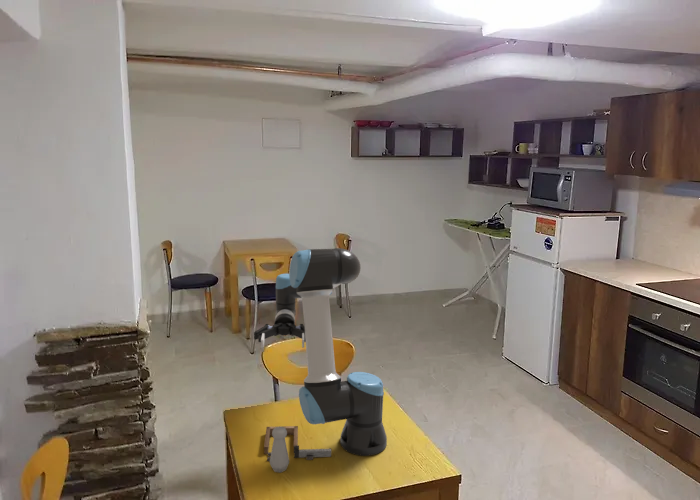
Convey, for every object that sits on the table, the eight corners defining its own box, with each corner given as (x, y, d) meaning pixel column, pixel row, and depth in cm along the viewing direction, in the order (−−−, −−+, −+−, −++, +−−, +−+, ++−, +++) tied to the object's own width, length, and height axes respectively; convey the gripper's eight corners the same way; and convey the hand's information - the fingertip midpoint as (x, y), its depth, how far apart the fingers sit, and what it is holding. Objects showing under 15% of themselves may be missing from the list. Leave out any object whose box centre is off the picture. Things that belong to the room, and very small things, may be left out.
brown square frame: (312, 432, 183) (312, 425, 183) (312, 459, 168) (313, 452, 167) (266, 433, 182) (266, 426, 182) (263, 461, 167) (263, 453, 166)
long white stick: (330, 454, 171) (331, 444, 170) (331, 456, 169) (331, 446, 169) (294, 455, 170) (294, 445, 169) (294, 457, 168) (294, 447, 168)
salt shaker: (286, 475, 160) (286, 435, 157) (267, 473, 161) (267, 433, 158) (291, 463, 166) (291, 424, 163) (272, 461, 166) (272, 423, 164)
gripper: (318, 332, 204) (320, 354, 183) (250, 332, 201) (244, 354, 181) (318, 312, 202) (320, 332, 181) (250, 313, 200) (244, 333, 179)
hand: (282, 343), depth 181 cm, fingers open, 13 cm apart
